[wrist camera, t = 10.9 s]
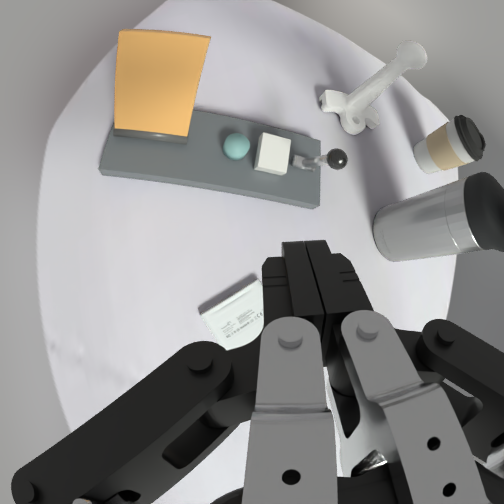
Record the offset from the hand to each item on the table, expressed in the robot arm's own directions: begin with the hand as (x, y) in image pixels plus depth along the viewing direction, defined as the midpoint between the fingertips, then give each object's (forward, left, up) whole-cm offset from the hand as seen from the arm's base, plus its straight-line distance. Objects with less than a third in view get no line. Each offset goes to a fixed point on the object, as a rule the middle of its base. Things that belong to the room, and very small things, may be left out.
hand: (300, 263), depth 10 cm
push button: (-8, -13, -21) cm, 26 cm away
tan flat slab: (+1, -18, -20) cm, 28 cm away
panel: (-7, -14, -23) cm, 28 cm away
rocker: (-12, -11, -21) cm, 26 cm away
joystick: (-31, -15, -24) cm, 42 cm away
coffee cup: (-48, -4, -24) cm, 54 cm away
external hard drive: (-2, +9, -24) cm, 26 cm away
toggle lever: (-16, -9, -20) cm, 27 cm away
